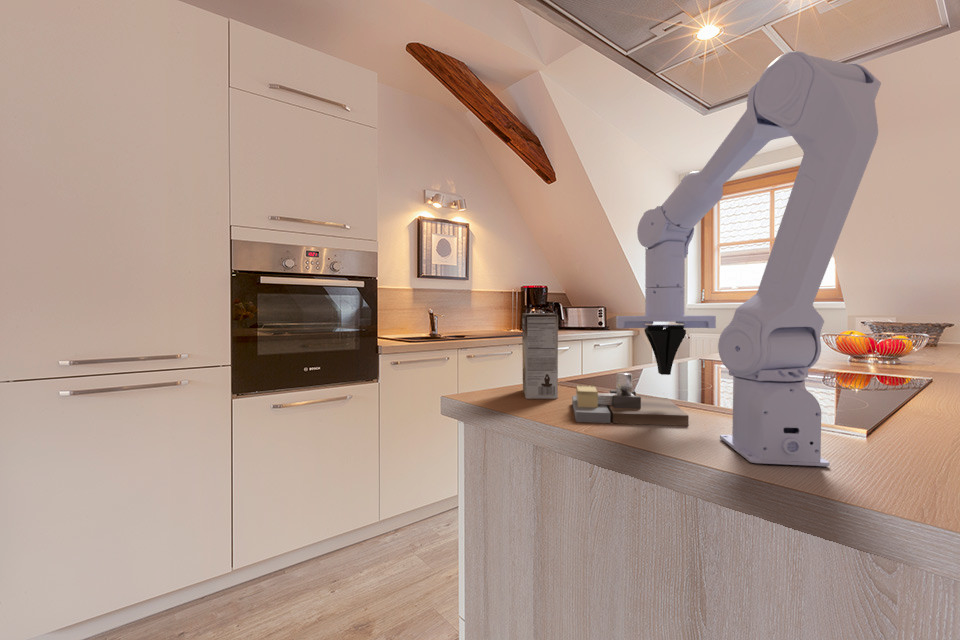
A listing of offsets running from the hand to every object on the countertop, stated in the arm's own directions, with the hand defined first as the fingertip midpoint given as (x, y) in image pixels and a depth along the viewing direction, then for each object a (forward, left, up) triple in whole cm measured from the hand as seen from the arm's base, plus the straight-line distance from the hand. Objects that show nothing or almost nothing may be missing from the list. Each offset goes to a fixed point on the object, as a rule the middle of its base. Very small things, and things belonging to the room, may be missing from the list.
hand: (664, 373), depth 70 cm
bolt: (0, +9, -5) cm, 10 cm away
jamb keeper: (0, +12, -7) cm, 13 cm away
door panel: (0, +3, -7) cm, 7 cm away
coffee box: (+14, +20, -7) cm, 25 cm away
